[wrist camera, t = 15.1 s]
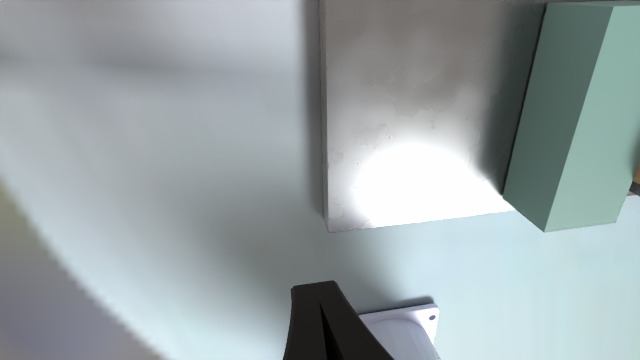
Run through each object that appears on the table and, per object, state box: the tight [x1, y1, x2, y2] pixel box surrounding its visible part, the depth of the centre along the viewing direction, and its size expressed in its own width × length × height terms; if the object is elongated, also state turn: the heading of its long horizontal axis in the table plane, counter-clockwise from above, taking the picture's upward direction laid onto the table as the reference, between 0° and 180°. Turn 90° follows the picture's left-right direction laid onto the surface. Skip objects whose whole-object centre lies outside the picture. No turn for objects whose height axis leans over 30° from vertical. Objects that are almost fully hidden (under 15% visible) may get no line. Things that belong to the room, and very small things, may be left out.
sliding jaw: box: [502, 0, 640, 232], centre depth 18 cm, size 10×4×3 cm, turn 1°
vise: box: [319, 0, 640, 233], centre depth 18 cm, size 12×20×5 cm, turn 91°
